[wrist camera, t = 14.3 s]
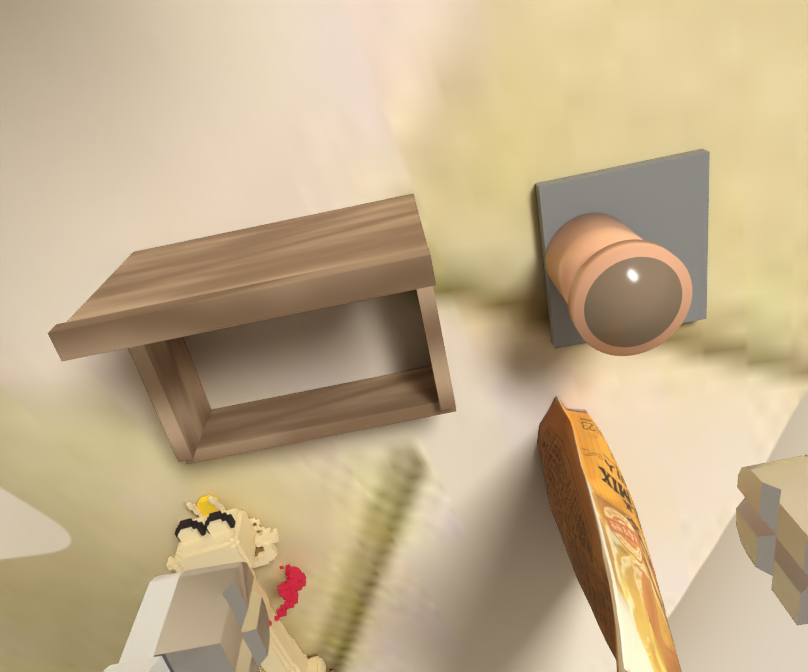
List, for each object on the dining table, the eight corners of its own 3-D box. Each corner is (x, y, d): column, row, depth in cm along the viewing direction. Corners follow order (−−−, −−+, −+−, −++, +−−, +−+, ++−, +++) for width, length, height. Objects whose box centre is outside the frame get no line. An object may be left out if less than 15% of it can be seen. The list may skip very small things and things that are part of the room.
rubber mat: (535, 183, 43) (538, 187, 42) (702, 148, 42) (709, 151, 41) (551, 342, 48) (555, 348, 47) (699, 312, 48) (706, 318, 47)
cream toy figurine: (357, 652, 64) (260, 475, 51) (359, 745, 57) (246, 565, 44) (262, 675, 65) (143, 506, 52) (252, 770, 57) (110, 600, 45)
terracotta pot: (532, 221, 43) (566, 263, 36) (634, 195, 42) (690, 233, 35) (547, 311, 46) (581, 368, 39) (642, 288, 45) (695, 340, 38)
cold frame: (131, 247, 43) (47, 333, 32) (412, 189, 42) (430, 254, 31) (202, 423, 49) (154, 546, 38) (447, 374, 49) (473, 485, 37)
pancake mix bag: (563, 566, 58) (713, 981, 33) (497, 401, 50) (631, 790, 25) (636, 542, 58) (845, 949, 33) (581, 371, 49) (805, 740, 24)
